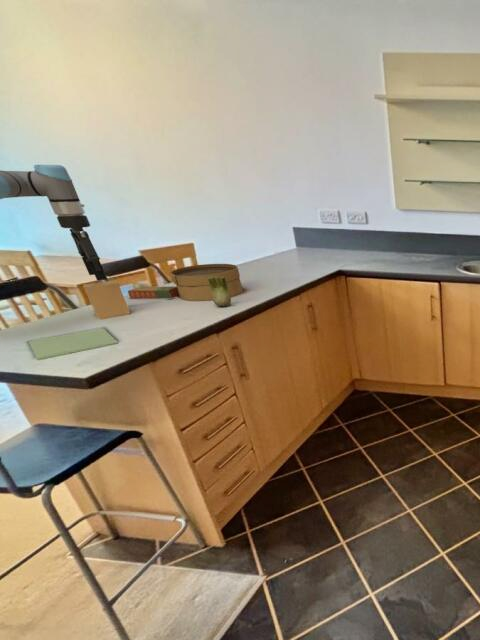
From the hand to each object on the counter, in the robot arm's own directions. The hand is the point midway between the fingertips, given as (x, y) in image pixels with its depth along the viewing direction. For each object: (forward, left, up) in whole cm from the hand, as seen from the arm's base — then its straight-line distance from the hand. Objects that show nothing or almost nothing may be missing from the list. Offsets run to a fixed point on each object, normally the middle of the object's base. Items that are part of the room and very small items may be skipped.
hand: (98, 277), depth 152 cm
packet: (0, 0, -14) cm, 14 cm away
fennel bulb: (+17, +32, -15) cm, 39 cm away
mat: (+29, -15, -14) cm, 36 cm away
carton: (-18, +18, -15) cm, 29 cm away
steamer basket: (-8, +36, -15) cm, 40 cm away
